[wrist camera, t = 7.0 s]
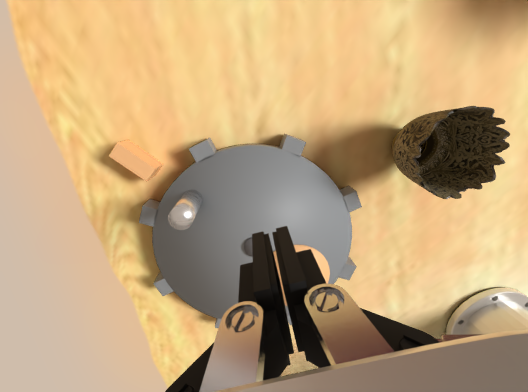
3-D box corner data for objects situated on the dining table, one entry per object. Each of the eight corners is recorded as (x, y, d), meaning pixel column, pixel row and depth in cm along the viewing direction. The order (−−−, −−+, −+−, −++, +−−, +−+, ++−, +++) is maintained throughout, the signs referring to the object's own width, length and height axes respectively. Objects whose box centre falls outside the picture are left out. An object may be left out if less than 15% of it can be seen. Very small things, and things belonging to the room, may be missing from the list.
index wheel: (391, 227, 30) (431, 259, 24) (261, 342, 35) (265, 397, 28) (243, 83, 24) (242, 73, 17) (109, 248, 29) (68, 289, 22)
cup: (379, 185, 29) (426, 212, 21) (365, 123, 26) (412, 129, 19) (441, 161, 28) (513, 180, 21) (433, 96, 26) (510, 91, 18)
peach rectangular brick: (163, 164, 26) (155, 169, 24) (155, 175, 27) (146, 181, 24) (128, 139, 25) (117, 142, 23) (120, 151, 26) (108, 156, 23)
